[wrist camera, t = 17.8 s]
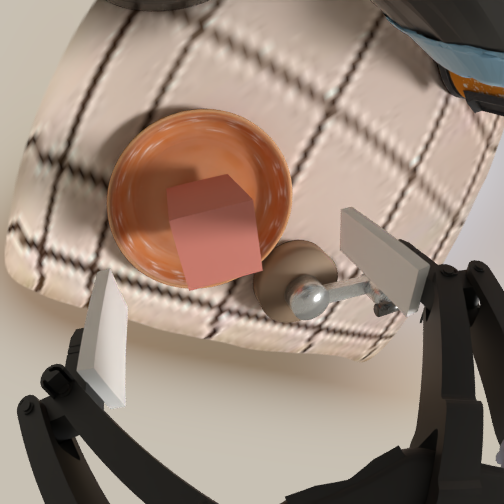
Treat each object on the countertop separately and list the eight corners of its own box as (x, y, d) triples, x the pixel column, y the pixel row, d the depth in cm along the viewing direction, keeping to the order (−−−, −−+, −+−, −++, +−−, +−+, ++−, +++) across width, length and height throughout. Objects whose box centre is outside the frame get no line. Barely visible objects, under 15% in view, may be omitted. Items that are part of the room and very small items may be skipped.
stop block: (166, 188, 22) (169, 220, 16) (227, 173, 23) (253, 199, 17) (180, 243, 25) (189, 290, 19) (236, 229, 26) (262, 270, 20)
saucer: (162, 78, 20) (162, 74, 18) (309, 162, 28) (324, 168, 25) (88, 240, 25) (82, 254, 22) (230, 291, 32) (237, 308, 30)
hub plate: (247, 253, 30) (255, 266, 28) (326, 231, 31) (339, 242, 29) (258, 318, 34) (265, 333, 32) (326, 295, 36) (336, 308, 34)
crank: (283, 309, 31) (308, 350, 26) (285, 278, 29) (314, 317, 24) (372, 288, 34) (403, 319, 29) (379, 260, 32) (414, 289, 27)
